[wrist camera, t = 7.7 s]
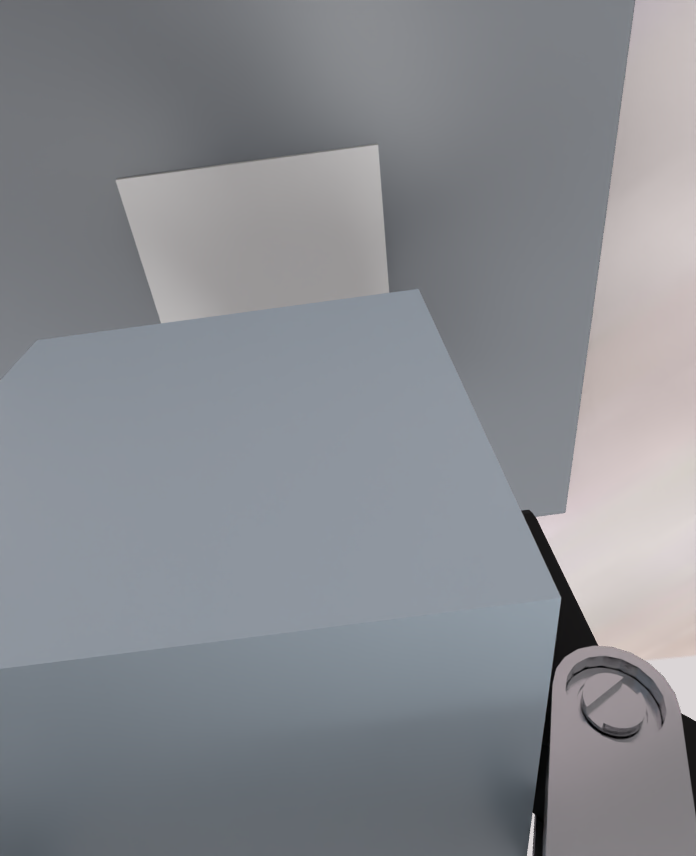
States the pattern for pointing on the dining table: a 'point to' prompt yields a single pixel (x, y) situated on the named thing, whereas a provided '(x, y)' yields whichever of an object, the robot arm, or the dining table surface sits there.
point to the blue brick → (264, 595)
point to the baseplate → (322, 179)
